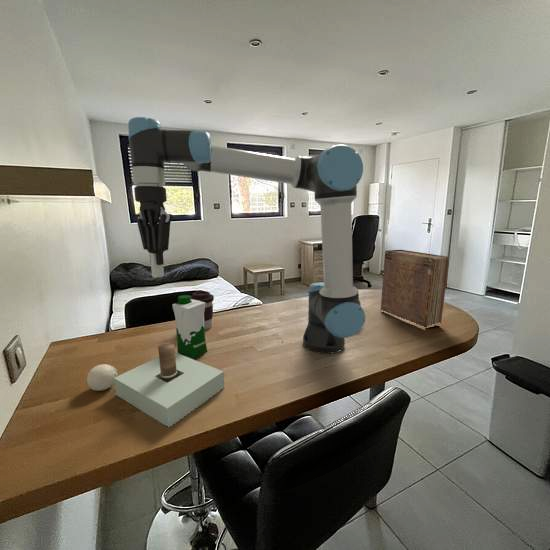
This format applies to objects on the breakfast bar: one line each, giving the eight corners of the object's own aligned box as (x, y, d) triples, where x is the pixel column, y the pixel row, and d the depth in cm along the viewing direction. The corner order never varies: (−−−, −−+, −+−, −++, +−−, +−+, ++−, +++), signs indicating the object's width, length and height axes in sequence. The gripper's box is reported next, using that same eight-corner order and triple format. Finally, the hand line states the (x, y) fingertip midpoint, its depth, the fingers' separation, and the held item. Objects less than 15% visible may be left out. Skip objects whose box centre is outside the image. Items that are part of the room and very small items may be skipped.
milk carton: (193, 345, 105) (189, 292, 101) (211, 351, 101) (208, 296, 96) (173, 355, 98) (168, 298, 94) (192, 362, 93) (187, 303, 89)
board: (224, 387, 80) (223, 371, 79) (169, 427, 65) (167, 408, 64) (172, 365, 91) (171, 350, 90) (116, 394, 77) (113, 378, 76)
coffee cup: (218, 323, 126) (216, 290, 123) (210, 332, 116) (209, 296, 113) (196, 322, 127) (194, 289, 124) (187, 331, 117) (184, 296, 114)
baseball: (122, 387, 80) (120, 365, 79) (92, 399, 75) (89, 376, 74) (114, 377, 85) (111, 356, 83) (85, 388, 80) (82, 366, 78)
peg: (181, 389, 79) (178, 345, 76) (168, 397, 75) (164, 352, 73) (171, 384, 81) (168, 342, 78) (159, 392, 78) (154, 348, 75)
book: (441, 327, 121) (450, 256, 114) (425, 331, 117) (433, 258, 111) (394, 309, 143) (400, 249, 137) (380, 311, 140) (385, 250, 133)
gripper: (178, 186, 73) (185, 276, 78) (148, 188, 80) (155, 271, 85) (152, 183, 67) (161, 282, 72) (121, 186, 74) (131, 276, 79)
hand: (158, 276), depth 79 cm, fingers closed
